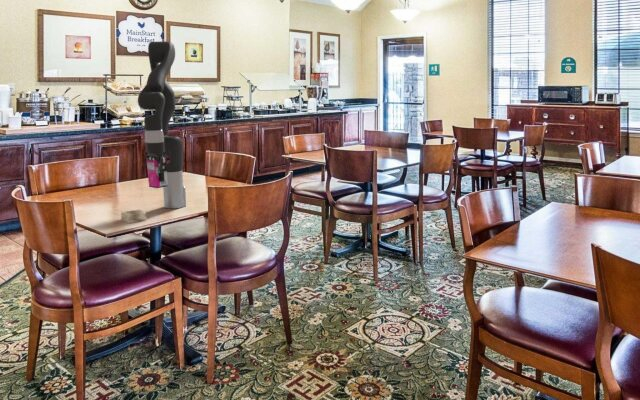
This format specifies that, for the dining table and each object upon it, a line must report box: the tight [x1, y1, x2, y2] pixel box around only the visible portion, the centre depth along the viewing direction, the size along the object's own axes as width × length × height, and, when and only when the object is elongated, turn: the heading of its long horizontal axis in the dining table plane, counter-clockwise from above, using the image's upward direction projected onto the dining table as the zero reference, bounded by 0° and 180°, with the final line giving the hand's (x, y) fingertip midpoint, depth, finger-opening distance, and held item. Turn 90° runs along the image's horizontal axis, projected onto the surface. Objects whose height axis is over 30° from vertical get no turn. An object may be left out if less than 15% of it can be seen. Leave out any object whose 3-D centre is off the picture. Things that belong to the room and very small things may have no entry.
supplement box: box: [146, 160, 168, 189], centre depth 228 cm, size 6×6×12 cm
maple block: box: [120, 209, 147, 224], centre depth 232 cm, size 8×8×4 cm
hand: (157, 180), depth 229 cm, fingers closed on supplement box, 6 cm apart
